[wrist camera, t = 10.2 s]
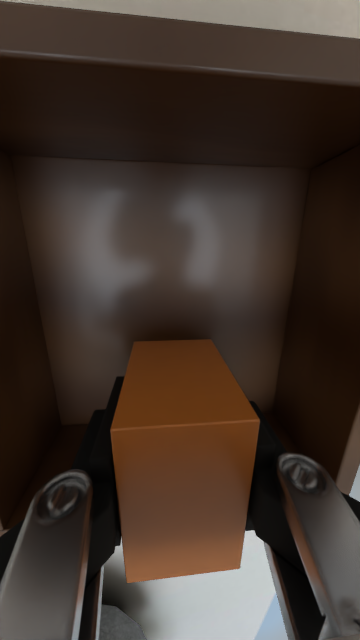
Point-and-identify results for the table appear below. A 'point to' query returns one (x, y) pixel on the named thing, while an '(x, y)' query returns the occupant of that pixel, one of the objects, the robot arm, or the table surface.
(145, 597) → the table surface
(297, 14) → the table surface
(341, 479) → the holder
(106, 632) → the potted plant
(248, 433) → the packet orange
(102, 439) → the robot arm
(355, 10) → the table surface
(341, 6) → the table surface
